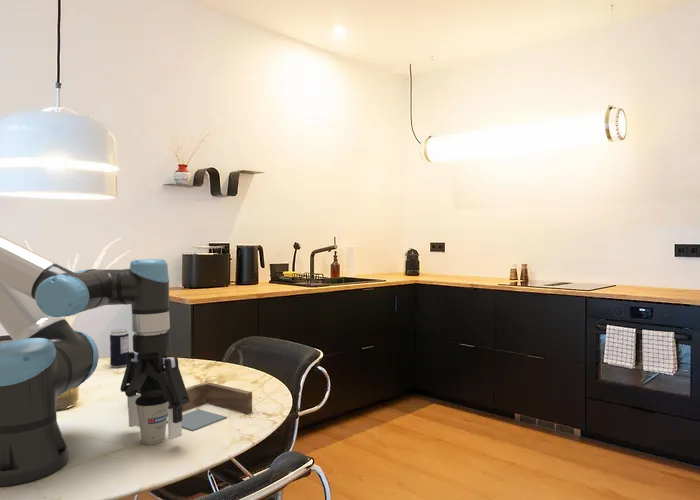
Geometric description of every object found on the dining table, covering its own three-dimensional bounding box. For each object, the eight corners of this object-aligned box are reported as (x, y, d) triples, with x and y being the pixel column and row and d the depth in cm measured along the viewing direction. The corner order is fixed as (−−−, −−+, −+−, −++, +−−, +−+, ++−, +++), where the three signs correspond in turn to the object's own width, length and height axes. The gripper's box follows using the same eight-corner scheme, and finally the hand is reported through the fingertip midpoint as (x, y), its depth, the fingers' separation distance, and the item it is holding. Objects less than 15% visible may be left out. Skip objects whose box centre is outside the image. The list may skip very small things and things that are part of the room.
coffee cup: (129, 440, 113) (128, 394, 112) (160, 431, 118) (159, 387, 117) (145, 449, 108) (145, 401, 108) (176, 439, 113) (176, 393, 113)
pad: (192, 431, 118) (192, 429, 118) (164, 422, 123) (164, 421, 123) (226, 418, 126) (226, 416, 126) (198, 410, 132) (198, 409, 132)
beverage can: (126, 363, 180) (125, 328, 180) (131, 366, 176) (130, 330, 175) (108, 366, 176) (107, 330, 176) (113, 369, 172) (112, 332, 172)
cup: (155, 408, 133) (155, 361, 133) (128, 406, 135) (127, 360, 134) (172, 399, 141) (171, 354, 140) (146, 397, 142) (145, 353, 142)
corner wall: (183, 439, 113) (183, 416, 113) (137, 424, 122) (136, 402, 122) (252, 412, 130) (252, 392, 130) (206, 400, 139) (206, 381, 139)
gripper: (205, 334, 108) (208, 436, 109) (132, 324, 122) (135, 415, 123) (174, 340, 102) (177, 449, 103) (101, 329, 116) (104, 425, 117)
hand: (154, 431), depth 113 cm, fingers open, 13 cm apart
